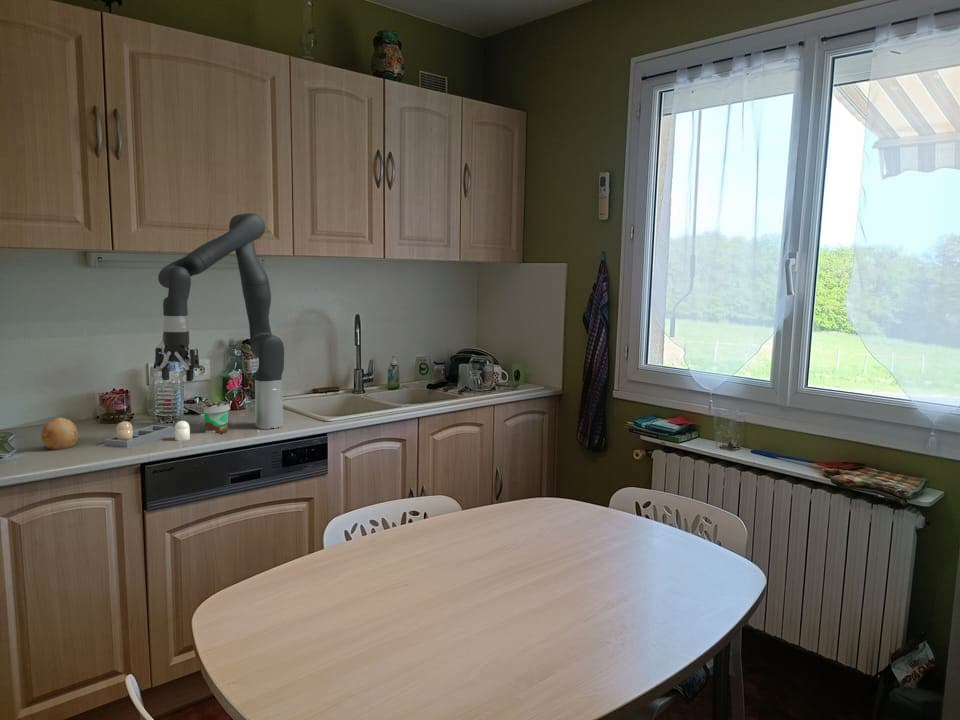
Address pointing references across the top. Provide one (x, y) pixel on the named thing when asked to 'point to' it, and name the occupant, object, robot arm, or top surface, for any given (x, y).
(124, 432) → the brown egg
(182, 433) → the white domed cylinder
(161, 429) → the carton
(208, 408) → the food container
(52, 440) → the onion
